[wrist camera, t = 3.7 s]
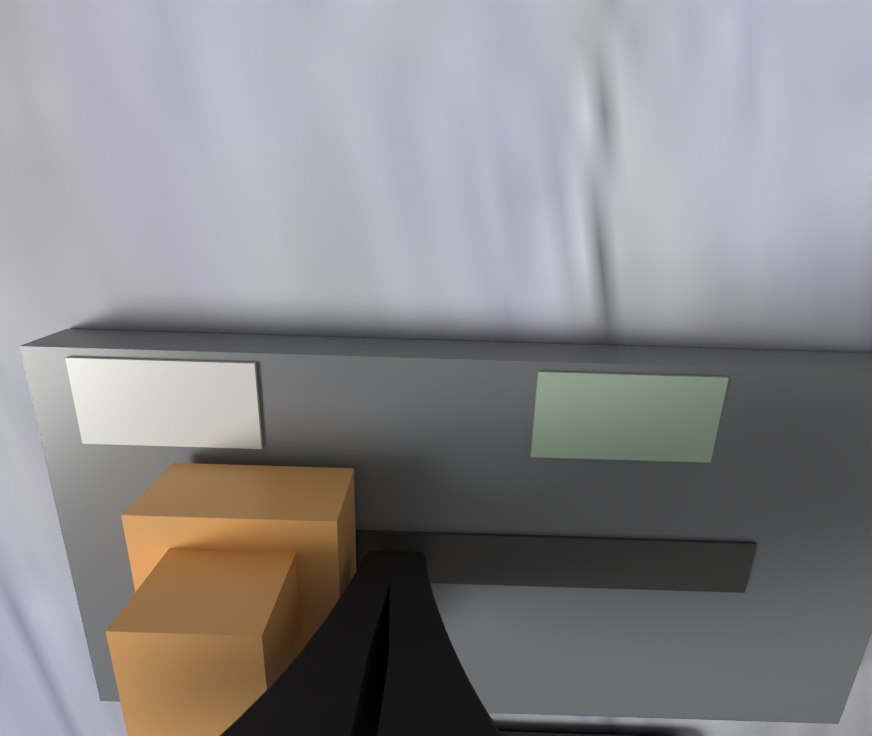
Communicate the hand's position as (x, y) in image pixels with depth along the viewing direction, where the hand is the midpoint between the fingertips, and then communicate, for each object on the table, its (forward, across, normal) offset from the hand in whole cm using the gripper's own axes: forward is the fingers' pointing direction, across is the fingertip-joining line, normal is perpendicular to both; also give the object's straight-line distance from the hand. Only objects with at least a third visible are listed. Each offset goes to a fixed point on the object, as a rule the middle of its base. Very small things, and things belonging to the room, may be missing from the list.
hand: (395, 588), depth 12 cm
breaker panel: (+3, -2, 0) cm, 3 cm away
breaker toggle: (+1, +3, 0) cm, 3 cm away
